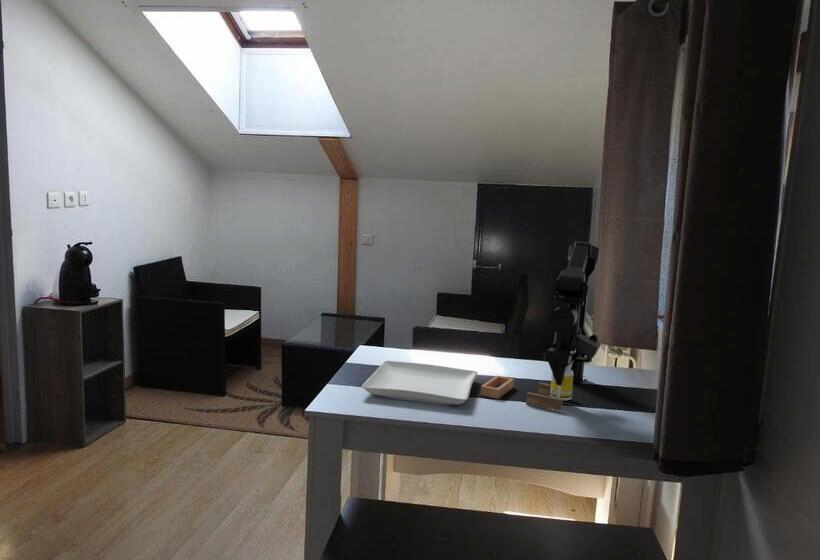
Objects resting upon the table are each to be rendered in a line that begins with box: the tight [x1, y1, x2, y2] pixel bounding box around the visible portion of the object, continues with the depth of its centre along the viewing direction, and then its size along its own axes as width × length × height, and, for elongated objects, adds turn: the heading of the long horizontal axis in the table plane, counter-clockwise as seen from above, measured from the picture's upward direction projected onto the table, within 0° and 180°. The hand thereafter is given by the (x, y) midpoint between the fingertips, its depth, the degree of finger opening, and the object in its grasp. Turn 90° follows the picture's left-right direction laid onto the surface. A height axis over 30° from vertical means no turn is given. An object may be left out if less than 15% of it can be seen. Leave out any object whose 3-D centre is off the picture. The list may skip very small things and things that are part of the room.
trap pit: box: [480, 375, 515, 400], centre depth 176 cm, size 12×5×2 cm, turn 152°
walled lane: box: [525, 382, 574, 412], centre depth 169 cm, size 11×9×3 cm
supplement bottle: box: [550, 363, 574, 401], centre depth 167 cm, size 5×5×10 cm
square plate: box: [361, 360, 478, 406], centre depth 174 cm, size 27×27×4 cm
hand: (561, 382), depth 168 cm, fingers closed on supplement bottle, 5 cm apart
